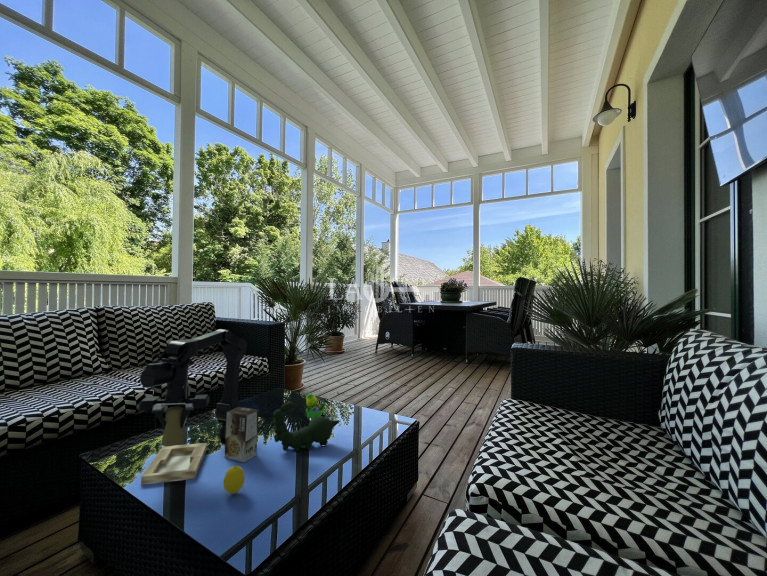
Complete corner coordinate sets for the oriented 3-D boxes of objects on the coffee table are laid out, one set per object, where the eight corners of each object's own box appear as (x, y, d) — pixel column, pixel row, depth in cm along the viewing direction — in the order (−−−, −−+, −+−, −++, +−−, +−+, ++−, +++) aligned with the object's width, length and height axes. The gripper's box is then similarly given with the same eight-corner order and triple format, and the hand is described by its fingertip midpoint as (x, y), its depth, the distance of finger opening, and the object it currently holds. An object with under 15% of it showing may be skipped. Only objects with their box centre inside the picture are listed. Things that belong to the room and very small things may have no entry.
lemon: (227, 488, 96) (229, 460, 97) (246, 488, 97) (248, 461, 97) (219, 499, 91) (221, 470, 91) (239, 499, 91) (241, 470, 91)
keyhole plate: (206, 449, 119) (207, 442, 119) (194, 478, 100) (195, 470, 100) (162, 453, 115) (162, 446, 115) (140, 484, 96) (141, 476, 96)
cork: (172, 447, 101) (175, 411, 101) (156, 444, 102) (159, 409, 102) (187, 439, 107) (190, 405, 107) (172, 436, 108) (175, 403, 108)
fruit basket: (321, 422, 151) (322, 397, 151) (301, 421, 151) (303, 396, 151) (325, 413, 162) (327, 390, 162) (308, 412, 162) (309, 389, 163)
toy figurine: (275, 462, 116) (343, 446, 126) (274, 409, 116) (342, 397, 126) (273, 450, 125) (337, 436, 134) (272, 401, 125) (335, 391, 134)
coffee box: (257, 455, 117) (260, 409, 118) (244, 463, 111) (247, 415, 111) (236, 450, 120) (239, 405, 121) (223, 457, 114) (226, 411, 114)
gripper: (214, 373, 116) (210, 418, 115) (152, 375, 110) (149, 421, 109) (207, 382, 105) (204, 431, 104) (139, 383, 99) (135, 435, 99)
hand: (173, 429), depth 105 cm, fingers closed on cork, 4 cm apart
